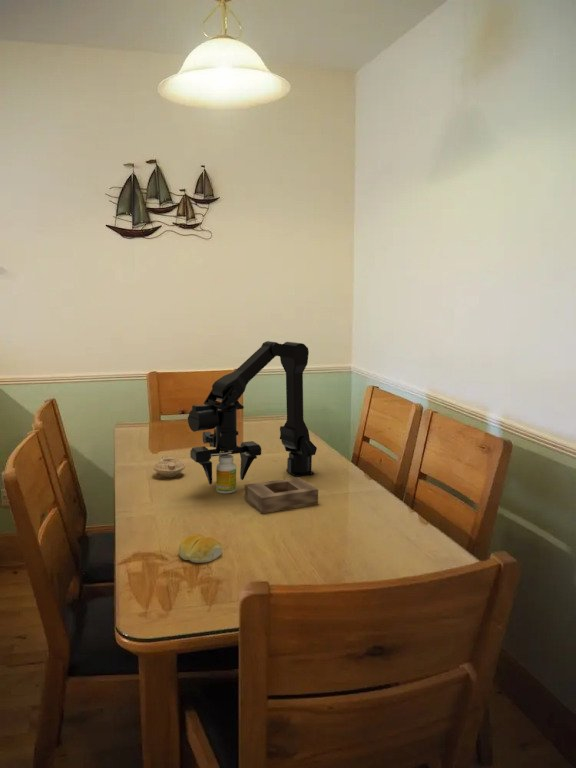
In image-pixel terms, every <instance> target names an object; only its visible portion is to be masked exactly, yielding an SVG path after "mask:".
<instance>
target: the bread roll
mask: <svg viewBox="0 0 576 768" xmlns="http://www.w3.org/2000/svg"><path fill="white" fill-rule="evenodd" d="M222 553H223V547H222V544H221V542H220V541H219V540H217V539H216V538H215V537H211V536H205V535H202V534H199V533H198V534H197V533H196V534H191V535H188V536H186V537H184V538H183V539H182V540H181V541H180V542H179V545H178V554H179V557H180V558H181V559H182V560H184V561H190V562H192V563H196V564H197V563H198V564H202V563H203V564H204V563H205V564H206V563H210V562H212V561H214V560H216V559H218V558H219V557H220V556H221V554H222Z"/></svg>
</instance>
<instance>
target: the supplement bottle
mask: <svg viewBox="0 0 576 768" xmlns="http://www.w3.org/2000/svg"><path fill="white" fill-rule="evenodd" d="M218 462H219V463H218V464H217V465H216V472H215V473H216V484H215V485H216V492H217V493H219V494H232V493H235V492H236V491H237V465H236V464H235V463H234V455H233V454H229V455H220V456H218Z"/></svg>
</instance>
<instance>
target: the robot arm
mask: <svg viewBox="0 0 576 768" xmlns="http://www.w3.org/2000/svg"><path fill="white" fill-rule="evenodd" d="M309 353H310V352H309V348H308V346H306V344H304V343H300V342H296V341H295V342H293V341H285V342H284V343H283V344H282V343H279V342H276V341H271V340H270V341H269V340H267V341H264V342H263V343H262V344H261V346H260V347H259V348H258V349H257V350H255V351H254V352H253V354H251V355H250V356H249V357H248V358H247V359H246V360H245V361H244V362H243V363H242V364H241V365H239V367H238V368H237V369H235V370H234V371H232V372H230V373H227V374H224V375H223V376H222V377H220V378H218V379H217V380H216V381H215V382H214V383H213V384H212V386H211V391H210V392H209V393H208V396H207V397H206V399H205V400H204V402H203V404H193V405H192V406H191V410H190V412H189V413H188V416H187V422H188V423H187V424H188V427H189V429H190V430H191V431H192V432H194V433H195V432H202V431H203V432H202V443H203V444H209V447H213V449H209V448H207V447H206V446H196V447H192V448H191V450H190V453H189V455H190V456H189V457H190V459H191V460H193V461H194V462H195V463H198V464H199V465H201V466H202V468H203V471H204V474H205V476H206V478H207V479H206V480H207V481H208V484H209V485H213V484H212V483H213V463H212V461H211V460H212V457H219V456H221V455H235V454H237V455H238V454H239V455H240V468H239V469H240V471H239V473H240V474H239V475H240V480H241V481H243V480H244V479H245V477H246V475H247V472H248V470H249V468H250V467H251V465H252V463H253V462H254V460H255V459H257V458H258V456H262V447H261V445H260V444H258V443H257V442H255V441H253V440H252V441H251V440H249V441H242V442H241V443H240V445H238V443H237V441H238V438H237V437H238V436H239V431H238V428H237V426H238V425H237V424H238V423H237V422H238V421H237V419H238V417H237V415H238V410H244V408H245V407H244V406H243V405H242V403H240V402H239V399H240V398H241V397H242V395H243V394H244V392H245V391H246V387H247V386H248V384H249V382H250V381H251V380H252V379H253V378H255V377H256V375H257V374H259V373H260V372H261V371H262V370H263V369H264V368H265V367H266V366H267V365H268V364H270V362H271V361H272V360H273V359H275V357H279V360H280V364H281V366H282V368H283V370H284V372H285V385H286V387H285V390H286V393H285V394H286V400H285V401H286V421H285V423H284V425H280V427H279V433H280V434H279V435H280V436H279V440H281V444H282V445H283V446H284V449H285V452H288V458H287V462H286V465H287V466H286V467H287V468H286V469H285V471H286V472H287V473H289V474H291V475H292V476H294V477H304V476H307V475H308V476H310V475H314V474H315V472H314V471H312V464H313V463H312V462H313V461H312V460H313V456H315V455H316V453H317V449H318V448H317V446H316V445H315V444H314V443H313V442H312V441H311V438H310V437H311V436H310V433H309V429H308V425H306V424H307V423H305V420H304V377H303V376H304V371H305V369H306V368H307V365H308V361H309ZM212 429H214V430H213V433H212V432H211V431H208V430H212ZM206 430H207V431H206Z"/></svg>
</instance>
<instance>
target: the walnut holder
mask: <svg viewBox="0 0 576 768" xmlns="http://www.w3.org/2000/svg"><path fill="white" fill-rule="evenodd" d="M244 501H246V502H247V503H249V505H251V506H252V507H254V509H256V510H257V511H258V512H259V513H260V514H267V513H273V512H280V511H284V510H291V509H296V508H297V509H298V508H302V507H303V508H304V507H309V506H314V505H318V504H319V488H317V487H315V486H313V485H312V484H311V483H309V482H307V481H306V480H304V479H302V478H301V477H300V476H296V477H291V478H283V479H276V480H271V481H269V480H268V481H264V482H256V483H249V484H248V483H247V484H244Z"/></svg>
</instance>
